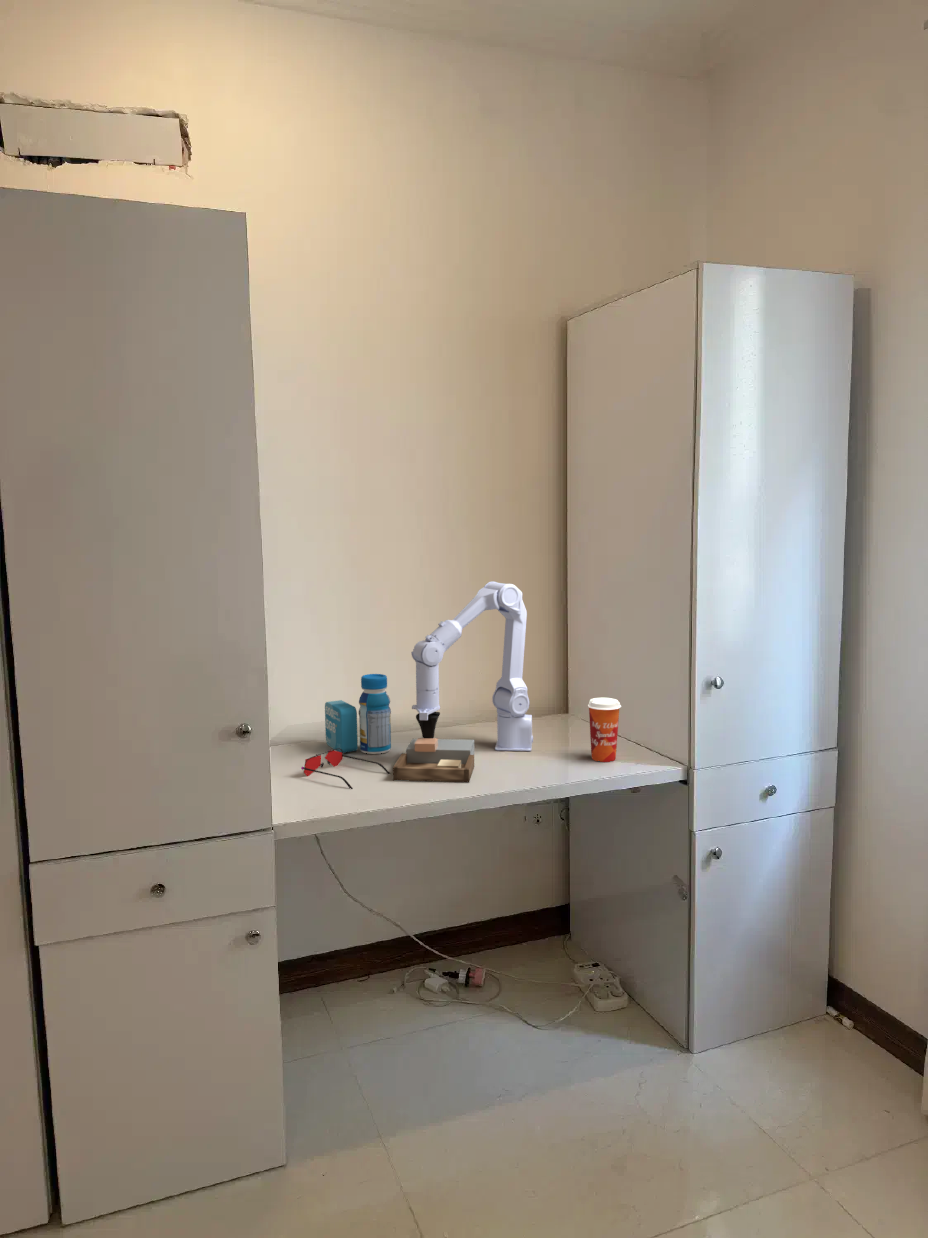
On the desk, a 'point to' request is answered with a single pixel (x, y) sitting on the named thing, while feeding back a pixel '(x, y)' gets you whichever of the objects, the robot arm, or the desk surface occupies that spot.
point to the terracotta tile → (426, 744)
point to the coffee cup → (603, 728)
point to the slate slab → (442, 751)
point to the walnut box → (431, 771)
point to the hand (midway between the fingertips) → (428, 741)
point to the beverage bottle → (374, 715)
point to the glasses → (332, 759)
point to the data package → (341, 726)
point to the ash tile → (449, 764)
